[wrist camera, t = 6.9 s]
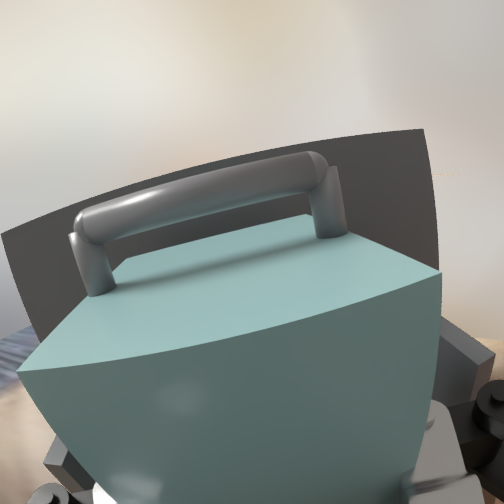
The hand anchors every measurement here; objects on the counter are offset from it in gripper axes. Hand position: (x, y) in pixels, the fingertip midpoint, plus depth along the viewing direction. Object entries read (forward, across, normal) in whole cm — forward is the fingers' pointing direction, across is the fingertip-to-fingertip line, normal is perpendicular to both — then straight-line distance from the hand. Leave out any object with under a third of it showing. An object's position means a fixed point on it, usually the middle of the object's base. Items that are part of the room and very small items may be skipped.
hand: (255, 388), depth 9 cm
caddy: (-3, 0, +7) cm, 7 cm away
